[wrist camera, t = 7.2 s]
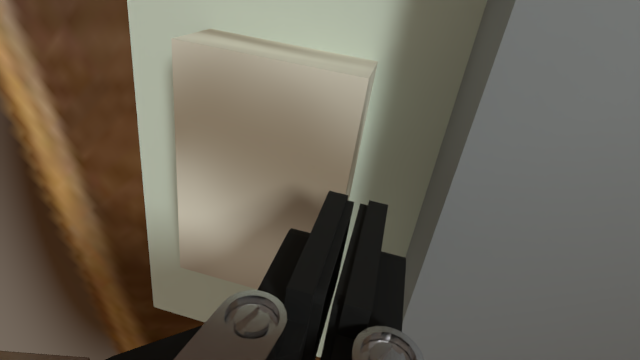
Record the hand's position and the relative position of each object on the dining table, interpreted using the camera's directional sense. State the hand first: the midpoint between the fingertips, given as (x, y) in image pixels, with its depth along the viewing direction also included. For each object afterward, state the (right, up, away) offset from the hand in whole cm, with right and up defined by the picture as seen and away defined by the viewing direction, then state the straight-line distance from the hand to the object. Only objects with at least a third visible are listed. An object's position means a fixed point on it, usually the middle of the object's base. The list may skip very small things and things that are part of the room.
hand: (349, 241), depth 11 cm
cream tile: (-3, +1, +2) cm, 4 cm away
